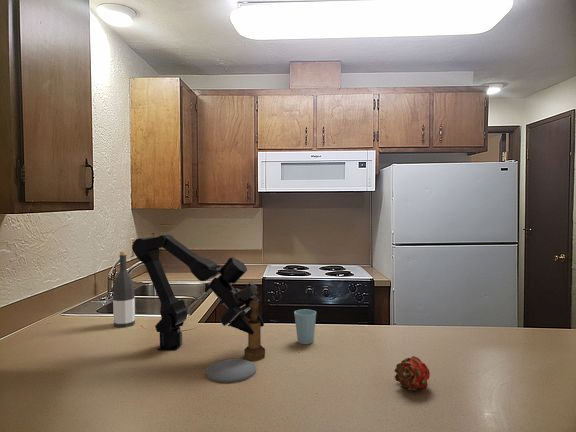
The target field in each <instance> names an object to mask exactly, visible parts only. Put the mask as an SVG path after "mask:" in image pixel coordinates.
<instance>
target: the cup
mask: <svg viewBox="0 0 576 432" xmlns="http://www.w3.org/2000/svg"><path fill="white" fill-rule="evenodd" d="M293 313H294V314H293V315H294V321H295V328H296V329H295V330H296V331H295V332H296V338H297V339H296V340H297V342H298V344H301V345H312V344H313V343H314V340H315V331H316V330H315V329H316V319H317V311H316V310H312V309H306V308H304V309H298V310H294V312H293Z"/></svg>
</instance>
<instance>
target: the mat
mask: <svg viewBox="0 0 576 432" xmlns="http://www.w3.org/2000/svg"><path fill="white" fill-rule="evenodd" d="M256 373H257V366H256V364H255V363H254V362H252V361H251V360H248V359H240V358H237V359H236V358H233V359H231V358H229V359H223V360H219V361H215V362H214V363H211V364H210V365H209V366H208V367H207V368H206V376H207V378H208V379H210V380H211V381H213V382H217V383H221V384H222V383H225V384H226V383H227V384H228V383H229V384H231V383H239V382H242V381H243V382H244V381H247V380H249V379H250V378H252V377H254V376H255V374H256Z"/></svg>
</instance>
